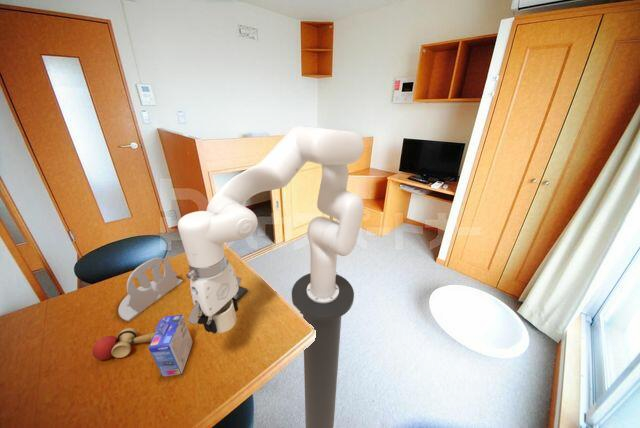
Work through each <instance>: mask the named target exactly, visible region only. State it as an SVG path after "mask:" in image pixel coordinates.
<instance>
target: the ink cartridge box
mask: <svg viewBox="0 0 640 428" xmlns="http://www.w3.org/2000/svg"><path fill="white" fill-rule="evenodd" d="M154 330H155V332H156V334H155V336H154V338H153V339H152V341H150V342H149V343H150V344H149V345H148V350H149V352H150V354H151V356H152V358H153V360H154V362H155V364H156V366H157V369H158V370H159V372H160V374H161V376H162V377H169V376H170V377H171V376H178V375H182V374H183V372H184V370H185V367H186V364H187V360H188V358H189V355H190V352H191V349H192V346H193V343H194V341H193V339H192V336H191V333H190V330H189V328H188V325H187V322H186V319H185V316H184V314H175V315H167V316H163V318H160V320H159V321H158V323H157V325H156V327H155V328H154Z"/></svg>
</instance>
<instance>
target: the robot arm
mask: <svg viewBox="0 0 640 428" xmlns="http://www.w3.org/2000/svg"><path fill="white" fill-rule="evenodd" d="M364 151H365V142H364V139H363V137H362V136H361V134H360V133H358V132H356V131H351V130H344V129H343V130H342V129H335V128H325V127H316V126H307V125H296V126H293V127H292V128H290V130H288V131H287V133H285V135H284V136H283V137H282V138H281V139H280V140H279V141H278V142H277V143H276V144H275V146H274V147H272V149H271V150H269V152H268V153H267V154H266V155H265V156H264V157H263V158H262V160H261V161H260V162H258V163H257V164H255V165H253V166H251V167H249V168H247V169H245V170H244V171H242V172H240V173H238V174H237V175H234V177H232V178H231V179H229V180H228V181H227V182H226V183H225V184H224V185H222V187H221V188H219V190H218V191H217V192H216V193H214V195H213V197H211V199H210V200H209V202H208V204H207V207H206V210H198V211H193V212H189V213H187V214H184V215H183V216H181V217H180V219H179V220H178V222H177V229H178V230H177V231H178V233H179V237H180V239H181V243H182V247H183V250H184V253H185V255H186V260H187V263H188V269H189V271H188V272H187V273H186V274H185V275H186V278H187V279H188V280H189V289H190V295H191V300H192V304H193V307H192V310H191V311H190V314H189V316H188V317H187V323H188V324H191V325H203V328H204V330H205V332H207V333H212V334H215V335H216V334H217V333H216V332H217V329H216V325H215V322H214V320H212V316H213V315H214V314H215V313H216V312H218V311H219V310H220V309H221V308H222V307H223V306H224V305H225V304H226V303H227V302H228V301H229V300H230V299H231V298H232V300H233V302H234V307H235V312H236V313H237V312H238V311H239V306H238V302H237V301H236V298H237V297H238V295H237V292H238V290H239V286H240V284H241V282H242V277H240V276H237V275H236V272H235V270H234V268H233V265H232V264H231V261H230V260H229V259H227V257H226V252H225V248H224V244H227V243H230V242H231V243H232V242H235V241H240V240H243V239H246V238H248V237H251V236H252V235H253V234H254V233H255V232H256V231H257V228H258V225H259V222H258V221H259V220H258V217H257V215H256V214H255V213H254V211H252V210H251V209H249V208H248V207H247V206H244V204H245V203H246V202H247V201H248V200H250V199H251V198H252V197H253V196H255V195H257V194H260V193H263V192H268V191H274V190H280V189H282V188H285V187H287V186H288V185H289V183H290V182H291V181H292V180H293V179H294V177H295V176H296V175H297V173H299V171H300V170H301V169H302V168H303V167H304V166H305V164H306V163H314V164H318V165H321V179H320V184H319V190H318V196H317V201H316V206H317V209H318V211H319V212H320V213H322V214H324V215H326V216H329V217H330V218H329V217H326V216H322V215H321V216H315V217H313V218H312V219H311V220H310V221H309V223H308V225H307V239H308V242H309V252H310V273H311V283H310V284H309V285H308V286H307V295H308V297H309V298H310V299H311V300H312V301H314V302H317V303H330V302H332V301H334V300H335V299H336V298H337V297H338V295H339V288H338V286H337V284H336V283H335V281H336V275H337V274H338V273H337V259H338V256H341V257H347V256H349V255H350V254H351V253H352V252H353V250H354V249H355V247H356V244H357V241H358V237H359V233H360V229H361V225H362V221H363V217H364V211H365V204H364V201H363V199H362V197H361V196H360V195H359V194H357V193H355V192H351V191H348V190H347V187H348V181H349V167H348V165H352V164H354V163H356V162H357V161H359V160H360V159H361V157H362V156H363V153H364ZM331 218H332V219H331ZM334 219H335V220H334ZM337 220H338V221H337Z"/></svg>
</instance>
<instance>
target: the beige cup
mask: <svg viewBox="0 0 640 428" xmlns="http://www.w3.org/2000/svg"><path fill="white" fill-rule="evenodd" d="M237 317H238V316H237V311H236V312H235V307H234V302H233V300H232V298H231V299H230V300H229V301H228V302H227V303H226V304H225V305H224V306H223V307H222V308H221V309H220V310H219V311H218V312H216V313H215V314H214V315H213V316H212V320H214V322H215V325H216V329H217V332H216V333H215V334H222V333H223V334H224V333H226V332H228V331H230V330H231V329H232V328H234V326H235V325H236V323H237V320H238V318H237Z"/></svg>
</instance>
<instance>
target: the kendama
mask: <svg viewBox="0 0 640 428" xmlns="http://www.w3.org/2000/svg"><path fill="white" fill-rule="evenodd" d="M156 332H157V331H154V332H150V333H146V334H142V335H138V334H139V332H138V330H137V329H135V328H133V327H128V328H127V327H126V328H124V329H122V330H121V331H120V332H119V333H118V335H117V336H116V335H115V336H114V335H107V336H104V337H102V338H100V339H98V340H97V341H96V342H95V343H94V345H93V347H92V350H91V351H92V356H93V358H94V359H96V360H99V361H105V360H108V359H111V358H112V357H114V358H116V359H117V358H118V359H121V358H125V357H127V356H128V355H130V352H131V351H132V345H133V344H142V343H143V344H144V343H151V341H152V339H153V338H154V336H155V334H156Z"/></svg>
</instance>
